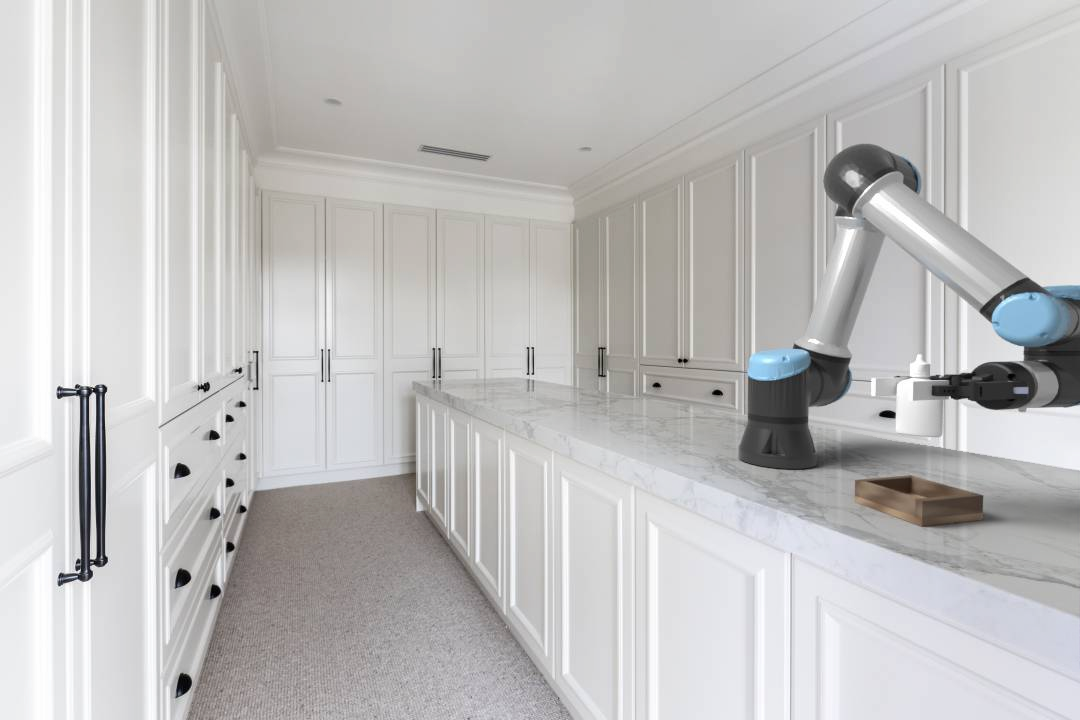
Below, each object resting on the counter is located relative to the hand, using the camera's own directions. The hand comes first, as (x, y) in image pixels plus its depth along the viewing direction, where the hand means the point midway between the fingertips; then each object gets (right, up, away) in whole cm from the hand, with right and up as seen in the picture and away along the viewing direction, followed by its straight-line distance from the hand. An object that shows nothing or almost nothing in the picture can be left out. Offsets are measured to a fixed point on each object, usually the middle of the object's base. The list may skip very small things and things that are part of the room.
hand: (891, 388), depth 75 cm
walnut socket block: (+5, -18, +2) cm, 19 cm away
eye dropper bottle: (+5, -7, +2) cm, 9 cm away
